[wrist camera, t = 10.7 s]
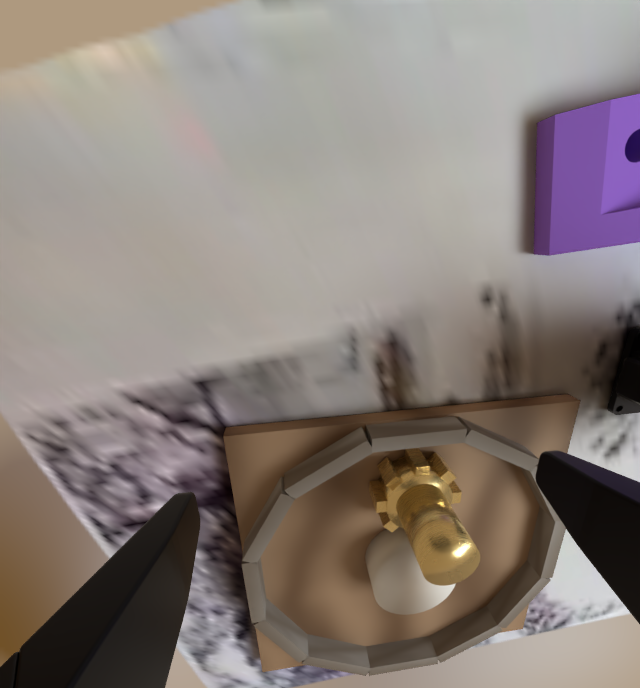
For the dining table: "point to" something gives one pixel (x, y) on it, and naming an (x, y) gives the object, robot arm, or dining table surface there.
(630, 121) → the bracket
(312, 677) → the dining table surface
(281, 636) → the carrier
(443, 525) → the gear
